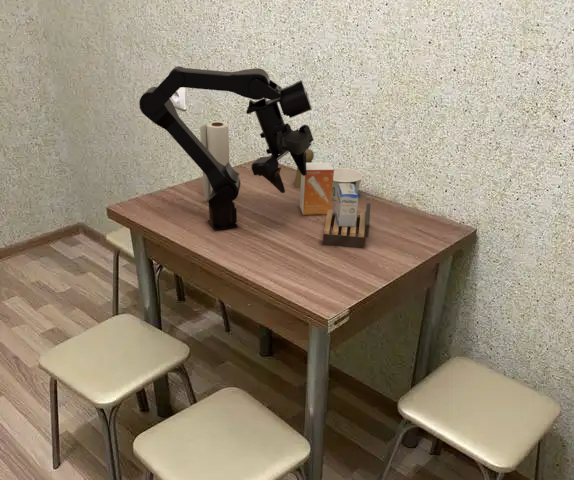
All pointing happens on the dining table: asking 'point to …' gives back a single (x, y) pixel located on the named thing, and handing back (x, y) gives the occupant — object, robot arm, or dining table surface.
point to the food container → (345, 179)
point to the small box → (316, 188)
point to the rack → (343, 237)
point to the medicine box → (346, 205)
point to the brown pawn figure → (298, 174)
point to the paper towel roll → (215, 147)
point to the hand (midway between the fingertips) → (294, 183)
